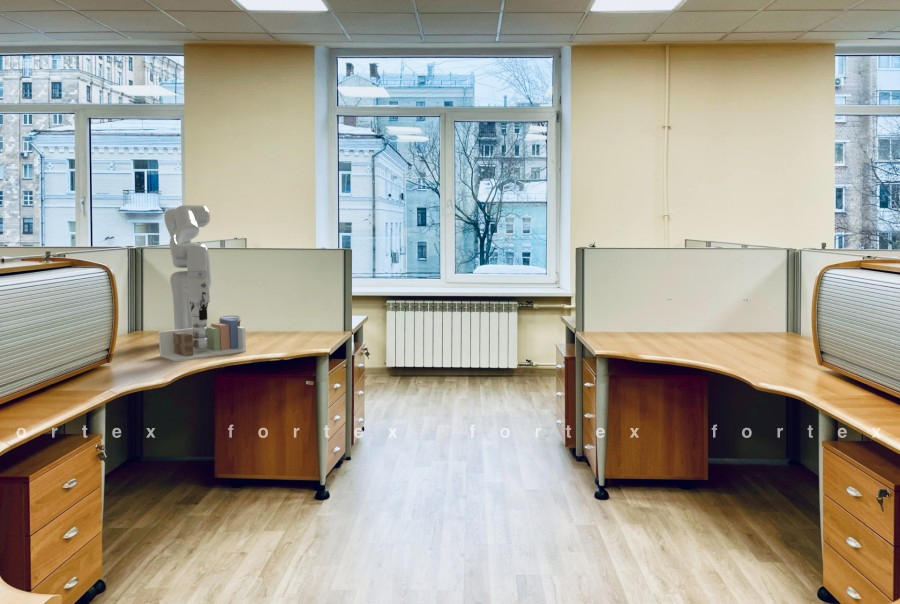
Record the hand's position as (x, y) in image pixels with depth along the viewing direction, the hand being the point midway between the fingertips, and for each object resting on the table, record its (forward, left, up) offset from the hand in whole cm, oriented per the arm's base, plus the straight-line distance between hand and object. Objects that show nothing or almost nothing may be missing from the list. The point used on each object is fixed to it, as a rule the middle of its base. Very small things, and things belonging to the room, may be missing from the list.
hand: (199, 318), depth 290 cm
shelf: (-1, +1, -15) cm, 15 cm away
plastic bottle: (0, 0, -13) cm, 13 cm away
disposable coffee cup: (-16, +21, -15) cm, 31 cm away
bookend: (0, -7, -14) cm, 15 cm away
